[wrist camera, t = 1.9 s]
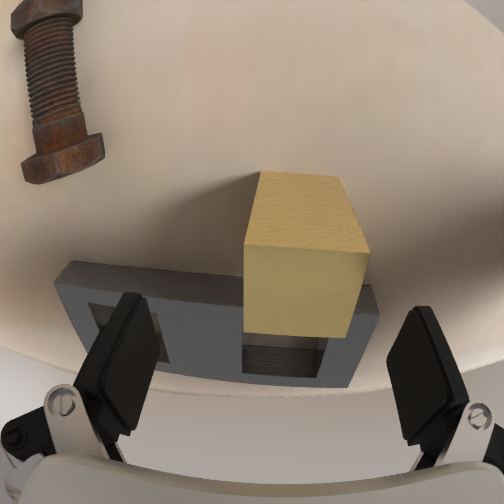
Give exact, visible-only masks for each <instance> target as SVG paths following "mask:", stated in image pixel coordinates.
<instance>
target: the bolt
mask: <svg viewBox="0 0 504 504" xmlns="http://www.w3.org/2000/svg"><path fill="white" fill-rule="evenodd" d="M82 17H83V4H82V0H24V1H23V2H21V3H20V4H19V5H18V6H17V8H16V9H15V10H14V11H13V13H12V14H11V31H12V32H13V34H14V35H15V37H16V38H18V39H24V43H25V44H24V47H25V49H24V52H25V55H24V56H25V57H26V58H25V62H26V64H25V66H26V67H27V68H26V70H25V71H26V72H27V73H26V76H27V77H28V78H27V80H26V81H27V82H29V83H28V84H27V86H28V87H29V88H28V92H30V93H29V95H28V96H29V97H31V98H30V99H29V102H32V103H31V104H30V107H31V108H32V109H31V112H32V113H33V114H32V115H31V116H32V118H34V119H33V121H32V123H33V130H32V131H33V136H34V142H35V147H36V151H37V153H36V154H34V155H32V156H31V157H29V158H28V159H26V160H25V161H23V162H22V163H21V167H22V170H23V174H24V178H25V181H27V182H29V183H32V184H44V183H47V182H50V181H53V180H56V179H59V178H62V177H65V176H68V175H71V174H74V173H76V172H79V171H82V170H84V169H86V168H88V167H90V166H92V165H94V164H96V163H98V162H99V161H101V160H102V159H104V158H105V148H104V143H103V138H102V133H97V134H93V135H89V136H88V135H87V130H86V125H85V119H84V114H83V112H82V110H81V107H80V106H79V105H80V104H81V103H80V102H77V101H78V100H79V99H80V98H79V97H76V96H77V95H78V94H79V92H76V90H77V89H78V87H76V85H77V84H78V82H76V81H75V80H77V77H75V75H76V72H75V71H74V70H75V69H76V67H75V66H73V65H75V62H74V61H73V60H74V59H75V57H73V55H74V52H73V50H74V47H72V46H73V44H74V43H73V42H72V41H73V40H74V38H73V37H72V36H73V33H72V31H73V28H71V27H72V26H73V25H74V24H76V23H77V22H78V21H79V20H80V19H81V18H82Z"/></svg>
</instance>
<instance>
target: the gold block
mask: <svg viewBox="0 0 504 504" xmlns="http://www.w3.org/2000/svg"><path fill="white" fill-rule="evenodd" d="M370 254H371V253H370V250H369V247H368V245H367V242H366V240H365V237H364V235H363V232H362V230H361V227H360V225H359V223H358V220H357V218H356V216H355V213H354V211H353V209H352V206H351V204H350V202H349V199H348V197H347V195H346V193H345V191H344V188H343V186H342V184H341V182H340V180H339V178H338V177H331V176H320V175H309V174H297V173H283V172H266V171H261V174H260V178H259V182H258V186H257V190H256V194H255V199H254V203H253V207H252V211H251V215H250V220H249V224H248V228H247V232H246V236H245V241H244V332H249V333H261V334H274V335H288V336H306V337H328V338H345V337H346V334H347V331H348V328H349V325H350V322H351V319H352V316H353V313H354V310H355V306H356V303H357V300H358V297H359V293H360V290H361V287H362V283H363V280H364V276H365V273H366V269H367V266H368V262H369V258H370Z"/></svg>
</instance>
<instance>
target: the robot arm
mask: <svg viewBox="0 0 504 504" xmlns="http://www.w3.org/2000/svg"><path fill="white" fill-rule="evenodd" d="M159 354H160V345H159V342H158V338H157V335H156V332H155V328H154V325H153V321H152V318H151V314H150V310H149V307H148V303H147V300H146V298H143V297H142V294H141V293H134V292H124V293H123V295H122V297H121V298H120V300H119V302H118V304H117V306H116V308H115V309H114V311H113V313H112V315H111V317H110V319H109V321H108V322H107V324H106V325H104V326H103V327H102V328H101V329H100V331H99V333H98V335H97V337H96V339H95V341H94V343H93V345H92V347H91V349H90V351H89V353H88V355H87V357H86V359H85V361H84V363H83V365H82V367H81V369H80V371H79V373H78V375H77V378H76V380H75V382H74V384H73V386H71V385H68V384H61V385H57V386H55V387H53V388H52V389H51V390H50V391H49V392H48V393H47V395H46V397H45V399H44V406H42V407H40V408H38V409H35V410H33V411H31V412H29V413H27V414H24V415H22V416H20V417H17V418H15V419H13V420H11V421H9V422H7V423H6V424H5V426H4V427H3V429H2V431H1V439H0V504H504V429H503V428H502V427H500V426H499V425H497V424H495V414H494V411H493V409H492V407H491V406H490V405H489V404H488V403H487V402H486V401H484V400H480V399H475V400H472V401H470V400H469V396H468V393H467V390H466V388H465V385H464V382H463V380H462V377H461V374H460V372H459V369H458V367H457V364H456V362H455V359H454V357H453V355H452V352H451V350H450V348H449V345H448V343H447V341H446V338H445V336H444V334H443V332H442V330H441V327H440V325H439V323H438V321H437V319H436V317H435V315H434V313H433V310H432V309H431V307H430V306H415V307H414V308H413V310H410V311H409V313H408V315H407V317H406V319H405V321H404V324H403V326H402V328H401V330H400V332H399V334H398V336H397V338H396V340H395V342H394V344H393V346H392V348H391V350H390V352H389V354H388V356H387V361H386V363H387V368H388V372H389V376H390V380H391V384H392V388H393V392H394V396H395V400H396V405H397V410H398V415H399V419H400V424H401V429H402V434H403V438H404V439H405V440H407V442H408V446H412V445H417V444H420V448H421V452H420V454H419V455H418V457H417V459H416V461H415V463H414V464H413V466H412V467H411V469H410V471H409V472H407V473H402V474H396V475H391V476H385V477H379V478H372V479H365V480H357V481H347V482H336V483H321V484H255V483H239V482H228V481H219V480H210V479H203V478H196V477H189V476H183V475H178V474H172V473H167V472H162V471H157V470H152V469H148V468H143V467H139V466H135V465H130V464H127V462H126V460H125V458H124V456H123V454H122V452H121V450H120V448H119V446H118V444H117V441H118V437H119V435H120V434H122V435H126V436H130V433H131V430H135V429H136V427H137V424H138V421H139V417H140V414H141V411H142V407H143V404H144V401H145V398H146V395H147V391H148V388H149V385H150V382H151V379H152V376H153V373H154V370H155V367H156V364H157V361H158V358H159Z"/></svg>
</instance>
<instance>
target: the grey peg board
mask: <svg viewBox="0 0 504 504" xmlns="http://www.w3.org/2000/svg"><path fill="white" fill-rule="evenodd" d="M53 283H54V285H55V288H56V290H57V292H58V295H59V297H60V299H61V301H62V303H63V306H64V308H65V310H66V312H67V314H68V316H69V318H70V320H71V322H72V324H73V327H74V328H75V330H76V332H77V334H78V336H79V338H80V340H81V342H82V344H83V346H84V348H85V349H86V351H87V353H89V351H90V349H91V347H92V345H93V343H94V341H95V339H96V337H97V335H98V333H99V331H100V329H101V328H102V327H103V326H104V325H106V324H107V322H108V321H109V319H110V317H111V315H112V313H113V311H114V308H113V307H116V306H117V304H118V302H119V300H120V298H121V297H122V295H123V293H124V292H134V293H141V294H142V297H143V298H146V300H147V303H148V307H149V310H150V313H156V315H157V319H158V322H159V326H160V330H161V333H162V335H159V334H156V335H157V338H158V342H159V345H160V354H159V358H158V361H157V364H156V367H155V370H157V371H163V372H168V373H174V374H180V375H186V376H192V377H199V378H206V379H214V380H222V381H230V382H239V383H249V384H261V385H274V386H291V387H318V388H347V387H348V385H349V383H350V381H351V379H352V377H353V375H354V373H355V371H356V369H357V367H358V364H359V362H360V360H361V358H362V356H363V353H364V351H365V349H366V347H367V344H368V342H369V340H370V337H371V335H372V332H373V330H374V328H375V325H376V323H377V320H378V318H379V315H380V314H379V311H378V307H377V304H376V300H375V297H374V294H373V290H372V287H371V286H368V285H362V287H361V290H360V293H359V297H358V300H357V303H356V306H355V310H354V313H353V316H352V319H351V322H350V325H349V328H348V331H347V334H346V337H345V338H328V337H318V341H317V345H316V349H315V350H307V349H288V348H273V347H260V346H249V345H246V332H244V277H232V276H220V275H208V274H197V273H185V272H175V271H164V270H153V269H143V268H133V267H124V266H114V265H105V264H96V263H87V262H78V261H71V262H70V263H69V264H68V266H67V267H66V268H65V269H64V270H63V271H62V273H61V274H60V275H59V276H58V277H57V279H56V280H55V281H54V282H53Z"/></svg>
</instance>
